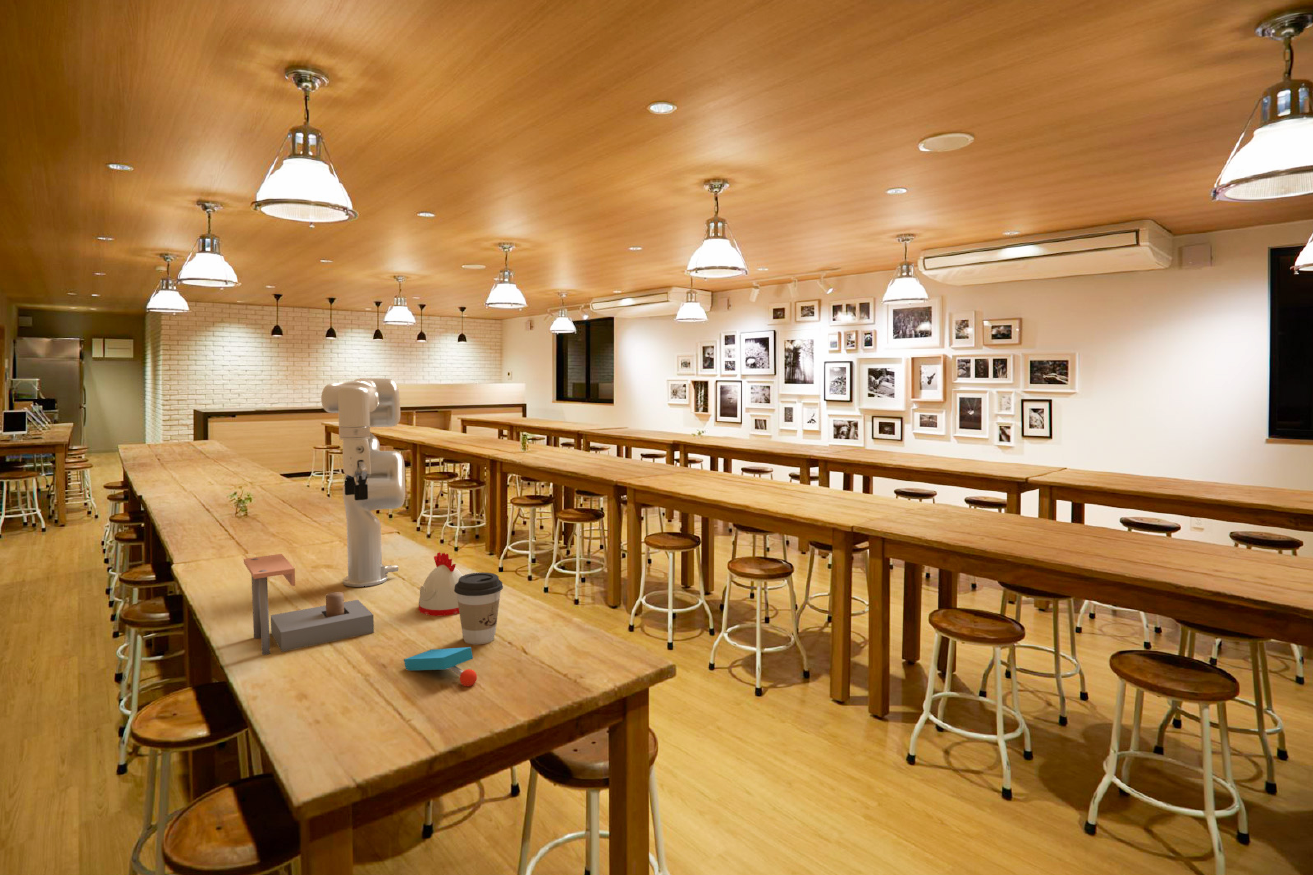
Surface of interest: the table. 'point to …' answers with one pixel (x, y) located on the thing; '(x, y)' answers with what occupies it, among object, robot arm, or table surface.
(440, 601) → the kitchen timer
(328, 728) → the table surface
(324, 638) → the socket block
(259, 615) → the pink topped stand
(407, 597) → the table surface
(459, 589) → the coffee cup
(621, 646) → the table surface
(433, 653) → the lever
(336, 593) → the walnut peg
